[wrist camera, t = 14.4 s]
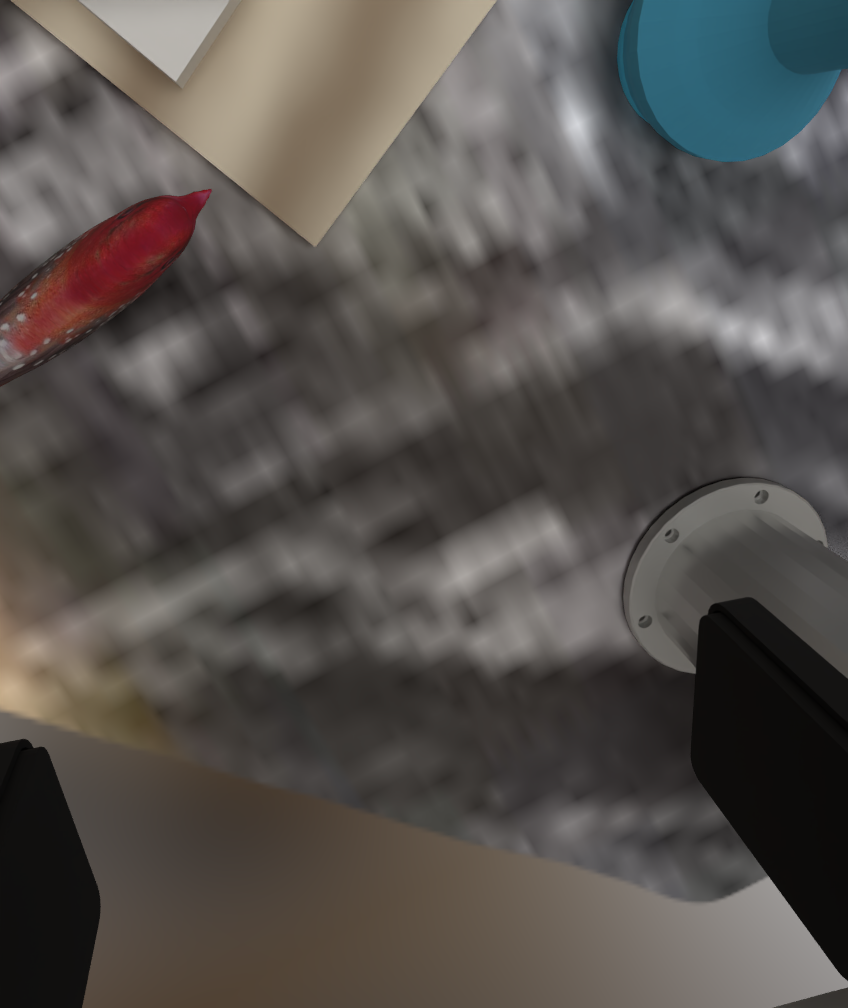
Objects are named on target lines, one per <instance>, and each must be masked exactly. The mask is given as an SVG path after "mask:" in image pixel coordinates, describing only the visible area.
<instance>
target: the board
mask: <svg viewBox="0 0 848 1008" xmlns="http://www.w3.org/2000/svg"><path fill="white" fill-rule="evenodd" d="M11 1H12V2H13V3H14V4H16V5H17V6H18V7H19V8H21V9H22V10H23V11H24V12H26V13H27V14H28V15H29V16H30V17H32V18H33V19H34V20H35V21H37V22H38V23H39V24H40V25H42V26H43V27H44V28H45V29H46V30H48V31H49V32H50V33H51V34H53V35H54V36H55V37H56V38H58V39H59V40H60V41H61V42H63V43H64V44H65V45H66V46H67V47H69V48H70V49H71V50H72V51H74V52H75V53H76V54H77V55H79V56H80V57H81V58H82V59H83V60H85V61H86V62H87V63H88V64H90V65H91V66H92V67H93V68H95V69H96V70H97V71H98V72H100V73H101V74H102V75H103V76H104V77H106V78H107V79H108V80H109V81H111V82H112V83H113V84H114V85H116V86H117V87H118V88H119V89H121V90H122V91H123V92H124V93H125V94H127V95H128V96H129V97H130V98H132V99H133V100H134V101H135V102H137V103H138V104H139V105H140V106H141V107H143V108H144V109H145V110H146V111H148V112H149V113H150V114H151V115H153V116H154V117H155V118H156V119H158V120H159V121H160V122H161V123H162V124H164V125H165V126H166V127H167V128H169V129H170V130H171V131H172V132H174V133H175V134H176V135H177V136H179V137H180V138H181V139H182V140H183V141H185V142H186V143H187V144H188V145H190V146H191V147H192V148H193V149H195V150H196V151H197V152H198V153H199V154H201V155H202V156H203V157H204V158H206V159H207V160H208V161H209V162H211V163H212V164H213V165H214V166H216V167H217V168H218V169H219V170H220V171H222V172H223V173H224V174H225V175H227V176H228V177H229V178H230V179H232V180H233V181H234V182H235V183H237V184H238V185H239V186H240V187H241V188H243V189H244V190H245V191H246V192H248V193H249V194H250V195H251V196H253V197H254V198H255V199H256V200H257V201H259V202H260V203H261V204H262V205H264V206H265V207H266V208H267V209H269V210H270V211H271V212H272V213H274V214H275V215H276V216H277V217H278V218H280V219H281V220H282V221H283V222H285V223H286V224H287V225H288V226H290V227H291V228H292V229H293V230H295V231H296V232H297V233H298V234H299V235H301V236H302V237H303V238H304V239H306V240H307V241H308V242H309V243H311V244H312V245H313V246H314V247H316V246H317V244H318V243H319V242H320V240H321V239H322V238H323V236H324V235H325V234H326V232H327V231H328V229H329V228H330V227H331V225H332V224H333V223H334V221H335V220H336V219H337V217H338V216H339V214H340V213H341V212H342V210H343V209H344V208H345V206H346V205H347V204H348V202H349V201H350V200H351V198H352V197H353V195H354V194H355V193H356V191H357V190H358V189H359V187H360V186H361V185H362V183H363V182H364V180H365V179H366V178H367V176H368V175H369V174H370V172H371V171H372V170H373V168H374V167H375V165H376V164H377V163H378V161H379V160H380V159H381V157H382V156H383V155H384V153H385V152H386V151H387V149H388V148H389V146H390V145H391V144H392V142H393V141H394V140H395V138H396V137H397V136H398V134H399V133H400V131H401V130H402V129H403V127H404V126H405V125H406V123H407V122H408V121H409V119H410V118H411V116H412V115H413V114H414V112H415V111H416V110H417V108H418V107H419V106H420V104H421V103H422V102H423V100H424V99H425V97H426V96H427V95H428V93H429V92H430V91H431V89H432V88H433V87H434V85H435V84H436V82H437V81H438V80H439V78H440V77H441V76H442V74H443V73H444V72H445V70H446V69H447V67H448V66H449V65H450V63H451V62H452V61H453V59H454V58H455V57H456V55H457V54H458V53H459V51H460V50H461V48H462V47H463V46H464V44H465V43H466V42H467V40H468V39H469V38H470V36H471V35H472V33H473V32H474V31H475V29H476V28H477V27H478V25H479V24H480V23H481V21H482V20H483V18H484V17H485V16H486V14H487V13H488V12H489V10H490V9H491V8H492V6H493V5H494V4H495V2H496V1H497V0H241V2H240V3H239V5H238V6H237V8H236V9H235V11H234V12H233V14H232V15H231V17H230V18H229V20H228V21H227V23H226V24H225V26H224V27H223V29H222V30H221V32H220V33H219V35H218V36H217V38H216V39H215V41H214V42H213V44H212V45H211V47H210V48H209V50H208V51H207V53H206V54H205V56H204V57H203V59H202V60H201V62H200V63H199V65H198V66H197V68H196V69H195V71H194V72H193V74H192V75H191V77H190V78H189V80H188V81H187V83H186V84H185V86H184V87H183V89H182V88H180V87H179V86H178V85H177V84H176V83H174V82H173V81H172V80H171V79H170V78H168V77H167V76H166V75H165V74H164V73H163V72H161V71H160V70H159V69H158V68H157V67H155V66H154V65H153V64H152V63H151V62H149V61H148V60H147V59H146V58H145V57H143V56H142V55H141V54H140V53H139V52H137V51H136V50H135V49H134V48H133V47H132V46H130V45H129V44H128V43H127V42H126V41H124V40H123V39H122V38H121V37H120V36H118V35H117V34H116V33H115V32H114V31H112V30H111V29H110V28H109V27H108V26H107V25H105V24H104V23H103V22H102V21H101V20H99V19H98V18H97V17H96V16H95V15H93V14H92V13H91V12H90V11H89V10H87V9H86V8H85V7H84V6H83V5H81V4H80V3H79V2H78V1H77V0H11Z"/></svg>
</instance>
